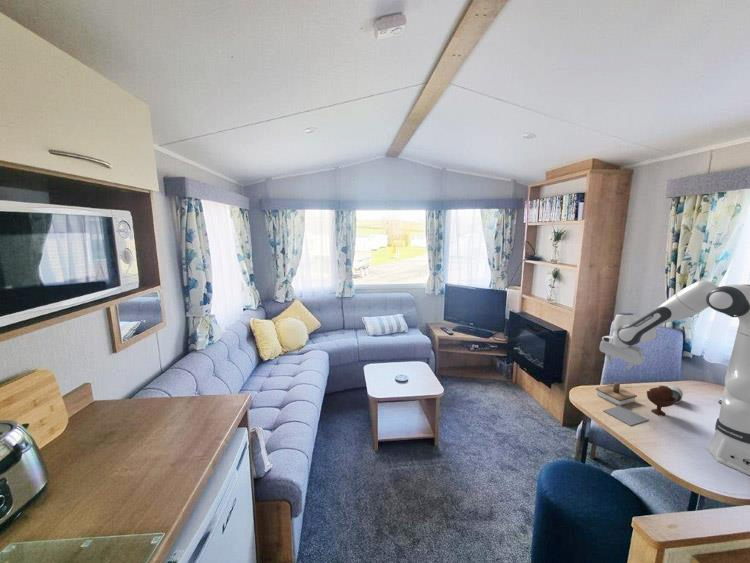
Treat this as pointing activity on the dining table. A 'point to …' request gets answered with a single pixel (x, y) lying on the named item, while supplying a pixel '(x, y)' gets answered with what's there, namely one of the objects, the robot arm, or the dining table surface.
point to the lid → (616, 392)
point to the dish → (615, 399)
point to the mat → (626, 415)
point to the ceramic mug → (676, 393)
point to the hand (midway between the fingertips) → (618, 365)
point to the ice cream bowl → (661, 398)
